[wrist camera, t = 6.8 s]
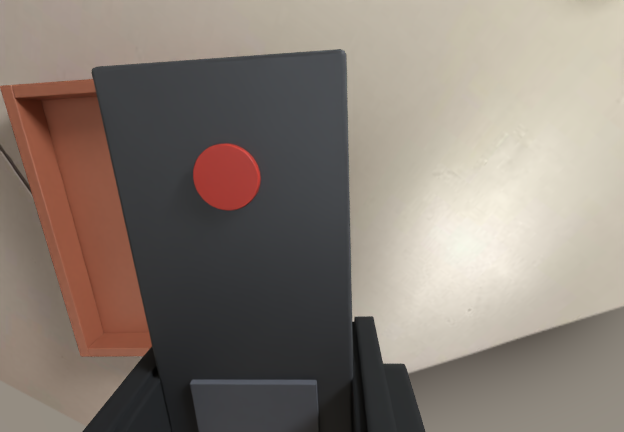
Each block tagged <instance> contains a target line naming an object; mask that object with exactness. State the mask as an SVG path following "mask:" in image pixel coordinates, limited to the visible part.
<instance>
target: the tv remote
mask: <svg viewBox="0 0 624 432" xmlns="http://www.w3.org/2000/svg"><path fill="white" fill-rule="evenodd" d="M92 76H93V81H94V85H95V90H96V94H97V99H98V103H99V108H100V112H101V117H102V121H103V126H104V131H105V135H106V140H107V144H108V149H109V153H110V158H111V162H112V167H113V171H114V176H115V180H116V185H117V189H118V194H119V198H120V203H121V207H122V212H123V217H124V221H125V226H126V230H127V235H128V239H129V244H130V248H131V253H132V257H133V262H134V266H135V271H136V275H137V280H138V284H139V289H140V293H141V298H142V303H143V307H144V312H145V316H146V321H147V325H148V330H149V334H150V339H151V343H152V348H153V352H154V357H155V361H156V366H157V370H158V375H159V379H160V382H161V386H162V391H163V395H164V400H165V404H166V409H167V413H168V418H169V422H170V427H171V431H172V432H354V428H353V384H352V378H353V338H352V292H351V246H350V200H349V154H348V109H347V63H346V53H345V51H343V50H341V49H338V50H324V51H310V52H296V53H282V54H268V55H254V56H240V57H226V58H212V59H198V60H184V61H170V62H156V63H142V64H128V65H114V66H100V67H95V68H93V69H92Z"/></svg>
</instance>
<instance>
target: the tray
mask: <svg viewBox="0 0 624 432" xmlns="http://www.w3.org/2000/svg"><path fill="white" fill-rule="evenodd" d="M0 88H1V92H2V95H3V98H4V102H5V105H6V108H7V112H8V115H9V118H10V122H11V125H12V128H13V132H14V135H15V138H16V142H17V145H18V148H19V152H20V155H21V158H22V162H23V165H24V168H25V172H26V175H27V178H28V182H29V185H30V188H31V192H32V195H33V198H34V202H35V205H36V209H37V212H38V215H39V219H40V222H41V225H42V229H43V232H44V235H45V239H46V242H47V245H48V249H49V252H50V255H51V259H52V262H53V265H54V269H55V272H56V275H57V279H58V282H59V285H60V289H61V292H62V295H63V299H64V302H65V305H66V309H67V312H68V315H69V319H70V322H71V325H72V329H73V332H74V335H75V339H76V342H77V345H78V349H79V352H80V355H81V356H90V357H92V356H144V355H145V354H146V353H147V351H148V350H149V349H150V348H151V347H152V343H151V339H150V334H149V330H148V325H147V321H146V316H145V312H144V307H143V303H142V298H141V293H140V289H139V284H138V280H137V275H136V271H135V266H134V262H133V257H132V253H131V248H130V244H129V239H128V235H127V230H126V226H125V221H124V217H123V212H122V207H121V203H120V198H119V194H118V189H117V185H116V180H115V176H114V171H113V167H112V162H111V158H110V153H109V149H108V144H107V140H106V135H105V131H104V126H103V121H102V117H101V112H100V108H99V103H98V99H97V94H96V90H95V85H94V81H93V79H88V80H74V81H61V82H47V83H33V84H19V85H5V86H0Z"/></svg>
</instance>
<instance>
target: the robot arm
mask: <svg viewBox="0 0 624 432" xmlns="http://www.w3.org/2000/svg"><path fill="white" fill-rule="evenodd" d="M352 338H353V378H352V384H353V428H354V432H425V429H424V426H423V422H422V419H421V415H420V412H419V409H418V405H417V402H416V399H415V395H414V392H413V389H412V386H411V382H410V379H409V376H408V372H407V369H406V366H405V365H404V364H383V361H382V357H381V352H380V347H379V342H378V338H377V333H376V328H375V323H374V319H373V317H355V322H352ZM83 432H172V431H171V427H170V422H169V418H168V413H167V409H166V404H165V400H164V395H163V391H162V386H161V382H160V379H159V375H158V370H157V366H156V361H155V357H154V352H153V348H152V347H151V348H150V349H149V350H148V351H147V353H146V354H145V355H144V356H143V358H142V359H141V360H140V361H139V363H138V364H137V365H136V366H135V368H134V369H133V370H132V371H131V372H130V374H129V375H128V376H127V377H126V379H125V380H124V381H123V382H122V384H121V385H120V386H119V387H118V389H117V390H116V391H115V392H114V393H113V395H112V396H111V397H110V398H109V400H108V401H107V402H106V403H105V405H104V406H103V407H102V408H101V409H100V411H99V412H98V413H97V414H96V416H95V417H94V418H93V419H92V421H91V422H90V423H89V424H88V426H87V427H86V428H85V429H84V431H83Z"/></svg>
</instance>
